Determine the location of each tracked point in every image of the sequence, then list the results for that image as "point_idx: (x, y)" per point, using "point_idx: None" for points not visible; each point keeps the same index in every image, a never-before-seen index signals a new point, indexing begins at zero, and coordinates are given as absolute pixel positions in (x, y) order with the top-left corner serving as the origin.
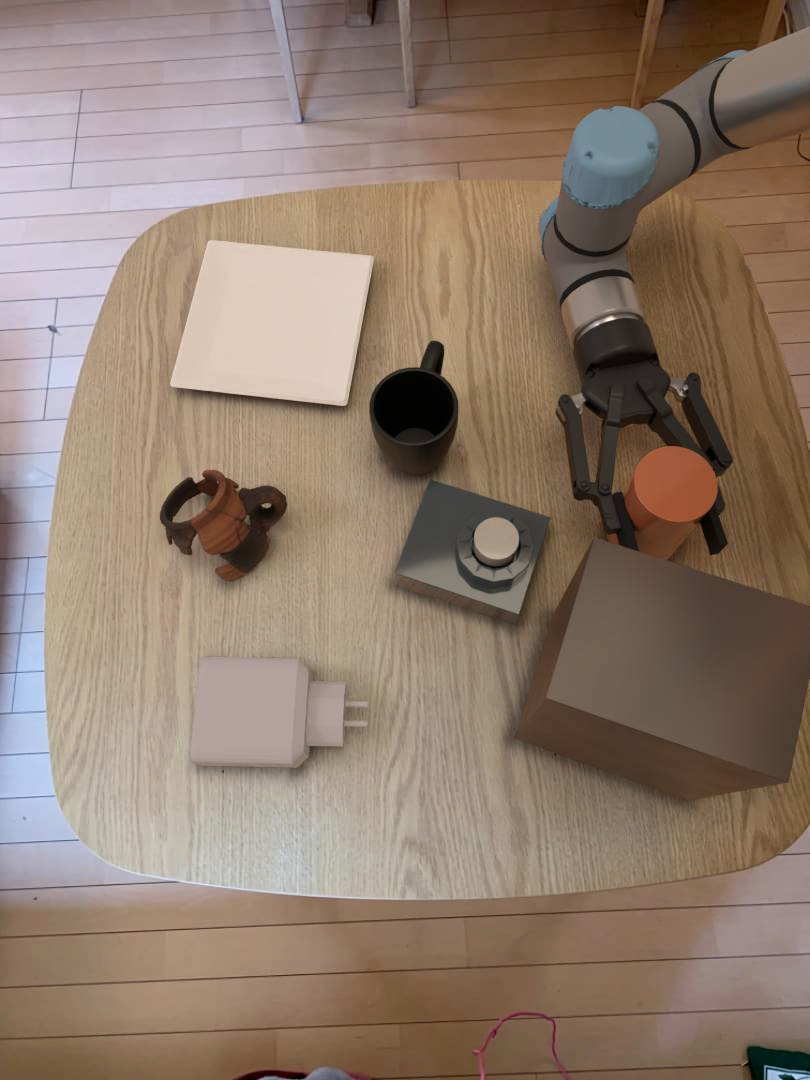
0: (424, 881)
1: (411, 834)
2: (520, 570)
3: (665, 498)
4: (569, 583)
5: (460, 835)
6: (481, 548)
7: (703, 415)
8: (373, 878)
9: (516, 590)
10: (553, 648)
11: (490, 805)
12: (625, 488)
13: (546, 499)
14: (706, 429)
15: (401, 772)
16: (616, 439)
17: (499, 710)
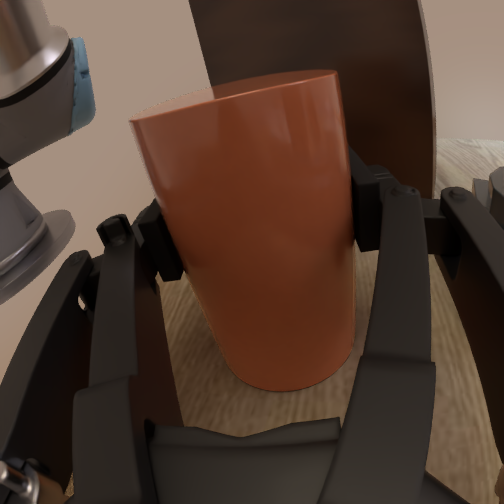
0: (461, 140)
1: (478, 148)
2: (496, 171)
3: (267, 77)
4: (429, 73)
5: (451, 148)
6: None
7: (25, 361)
8: (486, 141)
9: (487, 191)
10: (422, 13)
11: (438, 154)
12: (346, 202)
13: (471, 385)
14: (49, 323)
15: (501, 163)
16: (376, 306)
17: (454, 183)
